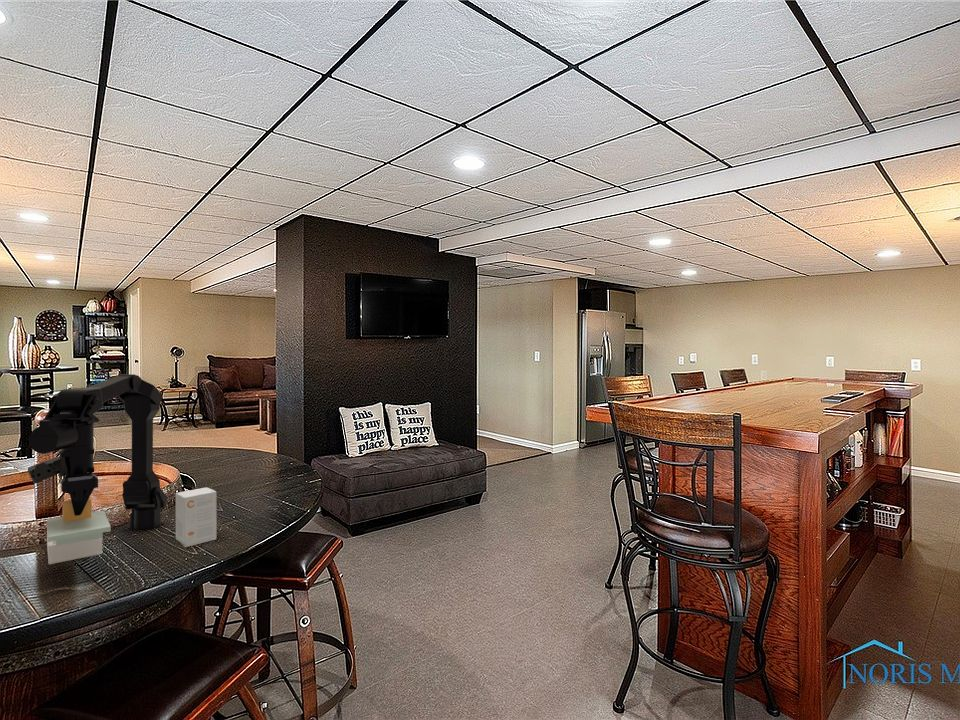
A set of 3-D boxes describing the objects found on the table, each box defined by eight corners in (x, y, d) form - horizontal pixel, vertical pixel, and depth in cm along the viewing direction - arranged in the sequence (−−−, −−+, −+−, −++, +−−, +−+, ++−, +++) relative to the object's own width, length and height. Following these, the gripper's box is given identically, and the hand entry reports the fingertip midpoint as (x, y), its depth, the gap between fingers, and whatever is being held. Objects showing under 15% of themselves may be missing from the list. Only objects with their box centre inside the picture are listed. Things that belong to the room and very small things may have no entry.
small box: (207, 533, 142) (207, 486, 142) (217, 539, 138) (217, 491, 138) (174, 541, 136) (174, 492, 136) (183, 548, 132) (184, 497, 132)
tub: (47, 549, 130) (47, 529, 130) (96, 540, 136) (96, 521, 136) (48, 567, 119) (48, 546, 119) (102, 556, 126) (102, 536, 126)
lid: (46, 530, 116) (46, 501, 116) (103, 520, 123) (104, 493, 123) (48, 549, 106) (48, 517, 105) (110, 538, 112) (110, 508, 112)
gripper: (30, 442, 119) (30, 510, 119) (30, 455, 105) (30, 532, 105) (91, 437, 126) (91, 501, 126) (98, 449, 112) (98, 521, 112)
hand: (77, 513), depth 117 cm, fingers closed on lid, 2 cm apart
